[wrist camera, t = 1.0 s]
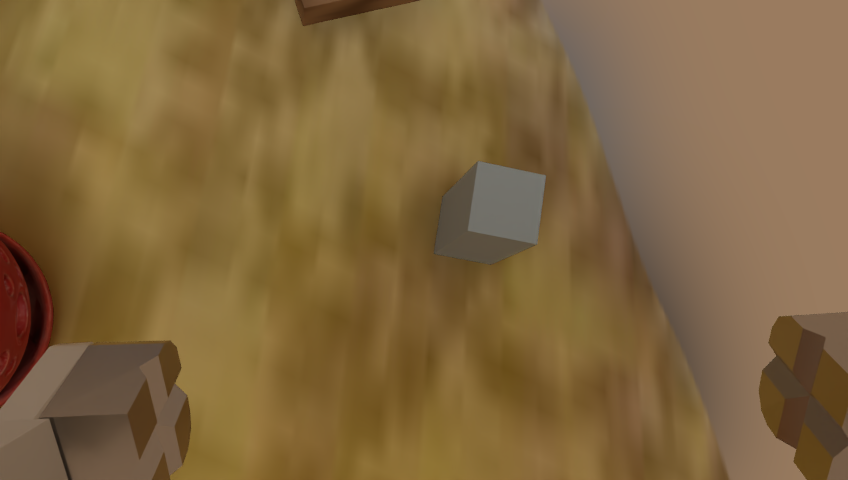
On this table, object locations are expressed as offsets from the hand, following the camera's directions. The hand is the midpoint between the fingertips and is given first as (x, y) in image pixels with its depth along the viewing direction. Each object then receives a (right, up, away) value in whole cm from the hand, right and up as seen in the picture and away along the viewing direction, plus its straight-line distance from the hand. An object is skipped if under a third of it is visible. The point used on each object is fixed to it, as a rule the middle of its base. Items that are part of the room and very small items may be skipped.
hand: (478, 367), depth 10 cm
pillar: (+2, +2, +38) cm, 38 cm away
